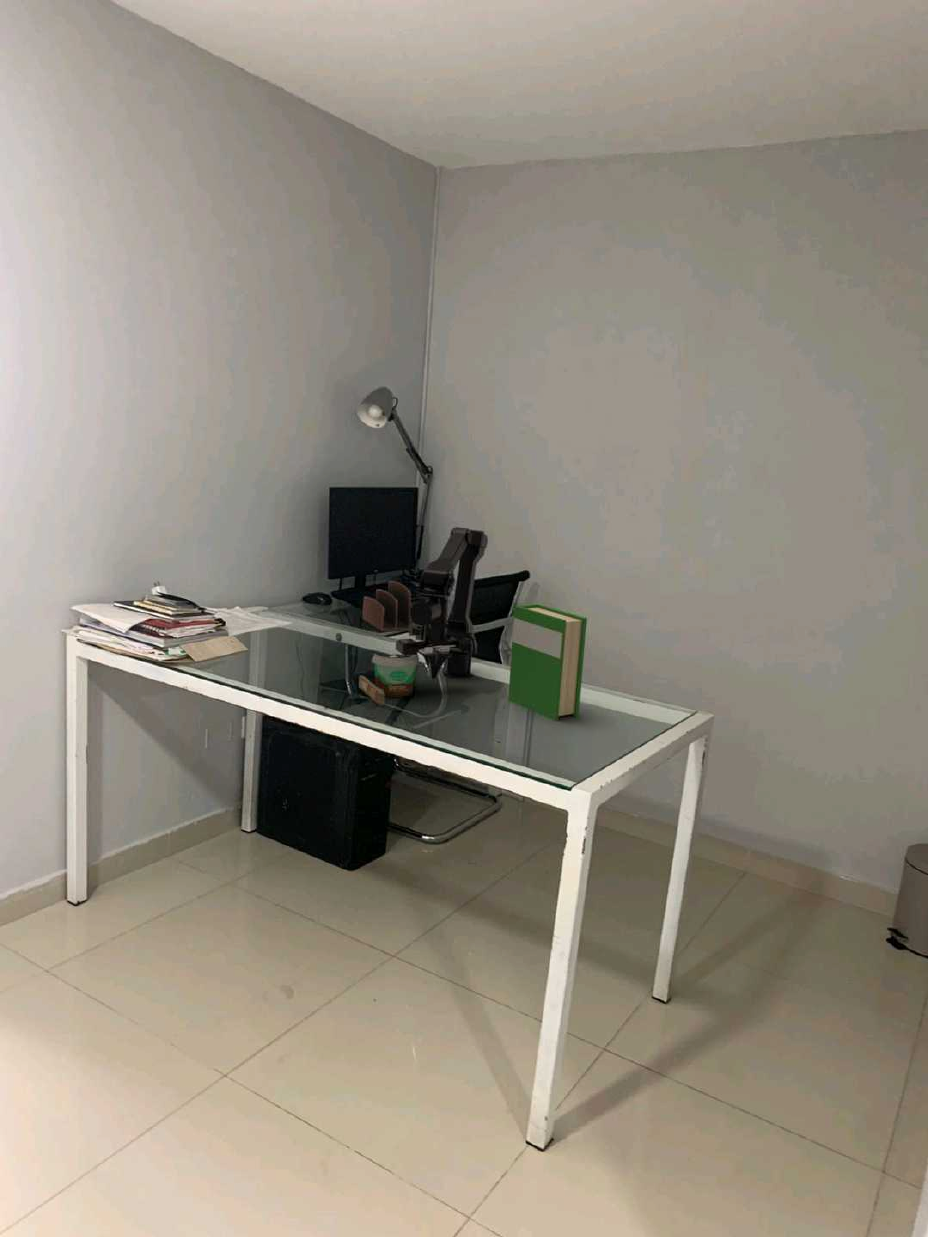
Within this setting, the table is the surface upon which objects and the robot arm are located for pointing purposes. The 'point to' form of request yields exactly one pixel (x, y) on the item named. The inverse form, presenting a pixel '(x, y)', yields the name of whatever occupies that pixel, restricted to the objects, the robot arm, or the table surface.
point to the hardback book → (547, 660)
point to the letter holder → (389, 608)
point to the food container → (395, 674)
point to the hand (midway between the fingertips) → (432, 678)
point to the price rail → (371, 690)
